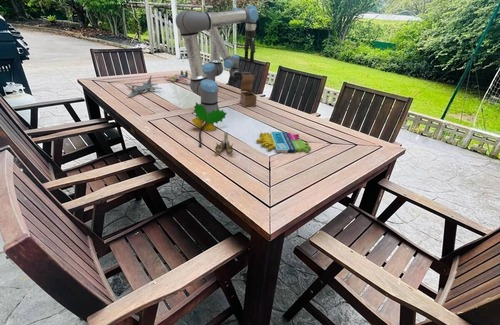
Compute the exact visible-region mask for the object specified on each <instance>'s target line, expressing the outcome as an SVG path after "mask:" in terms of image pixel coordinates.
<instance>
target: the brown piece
mask: <svg viewBox="0 0 500 325" xmlns="http://www.w3.org/2000/svg"><path fill="white" fill-rule="evenodd" d="M240 73H241V74H242V76H243V77H242V80H241V84H240V93H241V92H253V87H254V86H253V85H254V80H255V75H254V74H252V73H251V72H250V71H240Z"/></svg>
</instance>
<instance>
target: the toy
mask: <svg viewBox="0 0 500 325" xmlns="http://www.w3.org/2000/svg"><path fill="white" fill-rule="evenodd" d="M188 76H189V74H188V70H186V71H185V73H184V71H183V70H181V71H180V74H174V75H171V76H166V75H164V76H163V79H164V80H166V79H167V80H170V81H169V82H174V81H184V82H187V78H188ZM174 83H175V82H174Z"/></svg>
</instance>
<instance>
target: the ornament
mask: <svg viewBox="0 0 500 325" xmlns="http://www.w3.org/2000/svg"><path fill="white" fill-rule="evenodd" d="M219 110H220V108H219V109H217V110H216V111H214V110H212V112H211V113H208V112H206V109H204V106H201V103H198V102H195V105H194V106H193V112H194V113H195V118H192V119H191V122H192V123H193V125H195V127H197V128H198V129H199V130H200V129H201V127H202V126H203V125H204V124H205V125H204V127H203V129H202V130H203V131H206V132H212V131H213V132H214V131H215V130H216V126H215V124H218V123H219V122H223V119H226V115H227V114H228V113H227V112H224V110H223V109H221V110H220V111H219ZM207 113H208V115H207ZM214 123H215V124H214Z"/></svg>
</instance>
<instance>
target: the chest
mask: <svg viewBox="0 0 500 325" xmlns="http://www.w3.org/2000/svg"><path fill="white" fill-rule="evenodd" d="M257 97H258V96H257V95H256V94H255V93H254V92H253V91H244V92H241V91H240V99H239V100H240V101H239V103H240V105H242V106H243V107H244V108H255V107H257Z"/></svg>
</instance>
